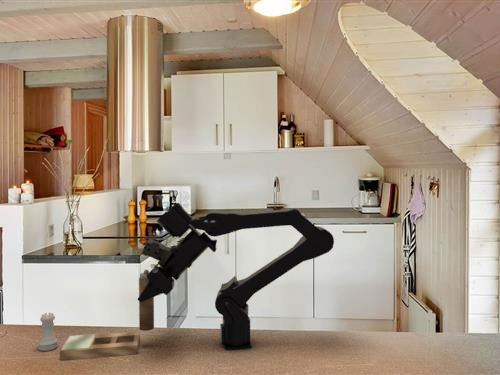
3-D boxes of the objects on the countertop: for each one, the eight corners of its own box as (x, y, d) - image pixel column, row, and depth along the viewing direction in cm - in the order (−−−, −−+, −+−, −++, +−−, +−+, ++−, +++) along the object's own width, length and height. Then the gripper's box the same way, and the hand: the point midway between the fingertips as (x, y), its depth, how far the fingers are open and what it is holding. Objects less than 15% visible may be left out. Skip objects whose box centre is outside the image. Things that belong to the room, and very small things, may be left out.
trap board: (139, 339, 105) (139, 330, 105) (137, 353, 97) (137, 344, 97) (69, 344, 102) (69, 335, 102) (59, 360, 93) (59, 350, 93)
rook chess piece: (50, 352, 98) (49, 317, 98) (33, 351, 99) (32, 316, 99) (62, 345, 102) (61, 312, 102) (45, 343, 103) (45, 311, 103)
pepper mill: (154, 325, 103) (153, 267, 103) (153, 330, 100) (153, 270, 100) (139, 326, 103) (139, 268, 102) (138, 331, 99) (138, 271, 99)
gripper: (168, 224, 110) (125, 267, 110) (156, 233, 92) (104, 284, 91) (198, 254, 111) (156, 296, 111) (193, 268, 92) (142, 320, 92)
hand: (140, 298), depth 101 cm, fingers closed on pepper mill, 3 cm apart
